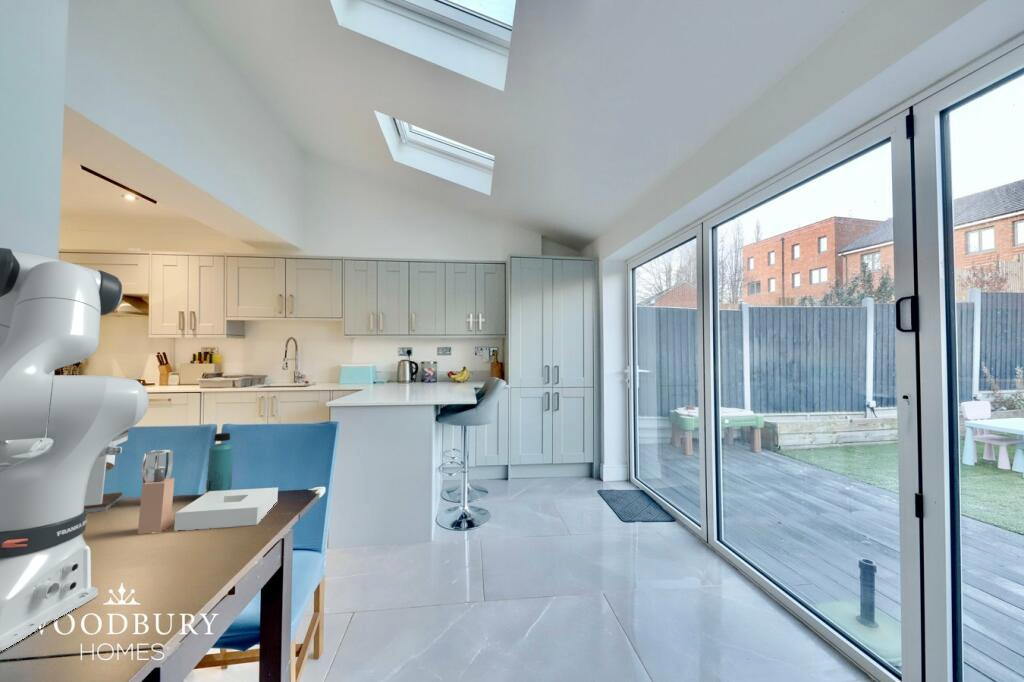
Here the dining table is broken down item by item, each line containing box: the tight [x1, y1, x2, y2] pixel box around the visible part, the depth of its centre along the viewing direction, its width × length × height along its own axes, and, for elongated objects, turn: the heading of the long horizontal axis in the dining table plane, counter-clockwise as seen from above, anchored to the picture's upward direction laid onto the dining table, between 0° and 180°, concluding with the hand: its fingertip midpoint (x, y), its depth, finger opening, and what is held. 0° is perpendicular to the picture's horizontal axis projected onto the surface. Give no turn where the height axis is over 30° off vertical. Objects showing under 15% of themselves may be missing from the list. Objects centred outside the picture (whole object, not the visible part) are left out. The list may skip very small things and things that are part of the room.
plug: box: [137, 468, 175, 535], centre depth 98 cm, size 4×4×15 cm
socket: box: [173, 487, 279, 532], centre depth 108 cm, size 18×18×4 cm
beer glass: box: [139, 449, 174, 505], centre depth 117 cm, size 7×7×15 cm
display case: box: [84, 429, 129, 514], centre depth 113 cm, size 11×11×35 cm
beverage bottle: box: [205, 432, 234, 494], centre depth 123 cm, size 6×7×20 cm
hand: (104, 454), depth 96 cm, fingers open, 8 cm apart
